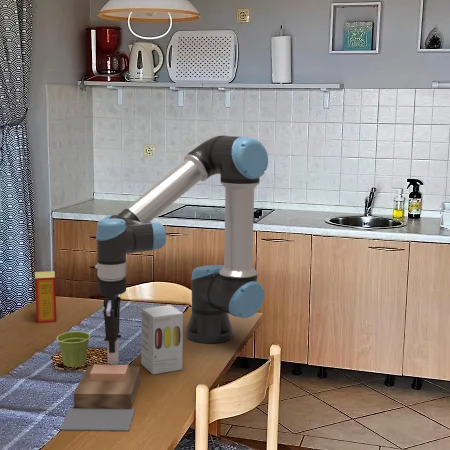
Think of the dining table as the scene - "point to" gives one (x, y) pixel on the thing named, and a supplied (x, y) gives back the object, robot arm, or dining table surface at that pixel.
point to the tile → (109, 373)
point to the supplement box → (161, 339)
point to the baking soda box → (45, 296)
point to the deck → (107, 391)
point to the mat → (98, 419)
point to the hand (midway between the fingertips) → (113, 362)
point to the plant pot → (73, 348)
